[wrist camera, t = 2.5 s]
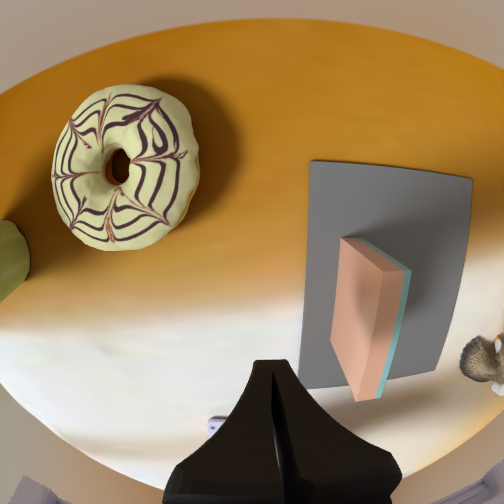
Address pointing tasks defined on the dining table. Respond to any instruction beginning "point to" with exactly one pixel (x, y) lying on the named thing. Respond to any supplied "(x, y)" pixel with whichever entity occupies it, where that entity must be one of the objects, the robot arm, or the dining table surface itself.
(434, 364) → the mat
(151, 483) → the dining table surface
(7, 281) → the plant pot
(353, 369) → the tile
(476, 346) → the eagle figurine
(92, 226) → the decorated donut
